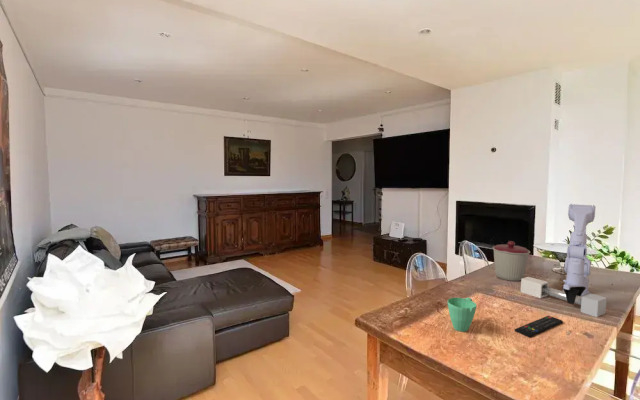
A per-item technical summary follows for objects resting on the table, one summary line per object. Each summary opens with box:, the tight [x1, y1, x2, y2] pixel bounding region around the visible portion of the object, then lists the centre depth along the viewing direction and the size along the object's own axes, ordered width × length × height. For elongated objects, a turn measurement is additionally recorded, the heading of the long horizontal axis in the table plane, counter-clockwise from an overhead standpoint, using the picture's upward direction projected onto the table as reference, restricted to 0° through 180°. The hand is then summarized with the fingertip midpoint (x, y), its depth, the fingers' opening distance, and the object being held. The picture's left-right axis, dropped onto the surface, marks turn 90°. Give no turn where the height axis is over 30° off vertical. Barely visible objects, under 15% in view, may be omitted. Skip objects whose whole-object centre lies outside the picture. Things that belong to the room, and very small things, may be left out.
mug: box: [447, 297, 477, 333], centre depth 119 cm, size 15×10×10 cm
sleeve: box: [520, 276, 549, 299], centre depth 152 cm, size 6×9×7 cm
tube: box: [542, 286, 582, 306], centre depth 142 cm, size 4×22×4 cm, turn 29°
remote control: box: [514, 315, 564, 338], centre depth 119 cm, size 5×24×1 cm, turn 119°
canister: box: [492, 240, 531, 282], centre depth 175 cm, size 18×18×21 cm
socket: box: [580, 292, 608, 318], centre depth 132 cm, size 8×6×7 cm
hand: (572, 302), depth 139 cm, fingers closed on tube, 4 cm apart
